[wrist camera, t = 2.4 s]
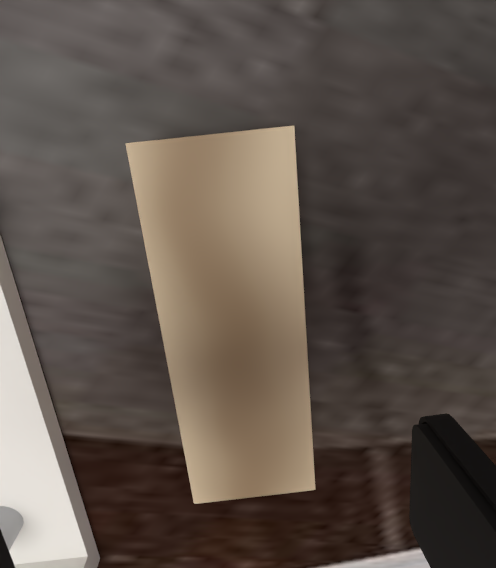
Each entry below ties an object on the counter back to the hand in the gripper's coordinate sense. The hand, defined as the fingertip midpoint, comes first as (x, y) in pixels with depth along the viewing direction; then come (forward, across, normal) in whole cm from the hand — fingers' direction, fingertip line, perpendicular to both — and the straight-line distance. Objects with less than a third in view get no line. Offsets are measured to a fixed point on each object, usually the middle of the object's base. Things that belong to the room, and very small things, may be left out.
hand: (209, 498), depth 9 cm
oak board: (+10, -1, -1) cm, 10 cm away
